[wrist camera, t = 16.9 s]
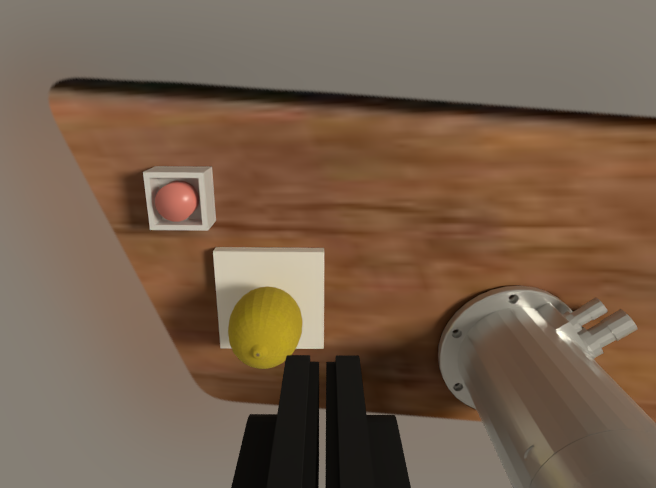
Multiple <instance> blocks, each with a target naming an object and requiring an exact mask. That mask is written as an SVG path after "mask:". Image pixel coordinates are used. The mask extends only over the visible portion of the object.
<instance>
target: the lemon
mask: <svg viewBox="0 0 656 488" xmlns="http://www.w3.org/2000/svg"><path fill="white" fill-rule="evenodd" d="M302 322H303V321H302V316H301V311H300V308H299V306H298V305H297V303H296V301H295V300H294V299H293V298H292V297H291V295H290V294H288V293H287V292H285V291H284V290H281V289H279V288H276V287H268V286H267V287H259V288H256V289H254V290H251V291H250V292H248V293H247V294H245V295H244V296H243V297H242V298H241V299H240V300H239V301H238V302H237V303H236V305H235V307H234V309H233V311H232V313H231V315H230V319H229V326H228V336H229V343H230V346H231V348H232V350H233V352H234V354H235V355H236V356H237V357H238V359H239V360H241V361H242V362H243V363H245V364H246V365H249V366H251V367H254V368H259V369H267V368H271V367H275V366H277V365H279V364H281V363H283V362H284V361H285V360H286V356H287V355H291V354H292V353H293V351H294V350H295V349H296V347H297V345H298V343H299V340H300V337H301V334H302Z"/></svg>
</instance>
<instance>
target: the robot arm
mask: <svg viewBox="0 0 656 488" xmlns="http://www.w3.org/2000/svg"><path fill="white" fill-rule="evenodd" d="M510 295H511V296H510ZM509 296H510V297H509ZM606 312H607V309H606V308H605V306H604V305H603V304H602V302H601V301H600V300H599V299H597V298H594V299H592V300H591V301H589V302H587V303H586V304H584V305H582V307H580V308H579V309H577V310H575V311H574V312H573V311H572V310H571V309H570V308H569V307H568V306H567V305H566V304H565V303H564V302H563V301H561V300H560V299H559V298H558V297H556V296H554V295H553V294H551V293H549V292H547V291H544V290H541V289H538V288H535V287H528V286H506V287H501V288H497V289H493V290H490V291H488V292H485V293H483V294H480V295H478V296H477V297H475V298H473V299H472V300H470V301H469V302H467V303H466V304H465V305H463V306H462V307H461V308H460V309H459V310H458V311H457V312H456V313H455V314H454V315H453V317H452V318H451V319H450V320H449V322H448V323H447V325H446V327H445V329H444V331H443V333H442V335H441V339H440V342H439V346H438V362H439V368H440V371H441V374H442V377H443V379H444V381H445V383H446V385H447V387H448V388H449V390H450V391H451V392H452V393H453V394H454V395H455V397H456V398H458V399H459V400H460V401H462V402H463V403H464V404H466V405H468V406H470V407H472V408H474V409H476V410H477V411H478V413H479V416H480V418H481V420H482V422H483V424H484V426H485V428H486V430H487V433H488V435H489V437H490V439H491V441H492V443H493V446H494V448H495V450H496V452H497V454H498V457H499V459H500V461H501V463H502V465H503V467H504V469H505V472H506V474H507V476H508V478H509V480H510V483H511V485H512V487H513V488H656V423H655V422H654V421H653V420H652V419H651V418H650V417H649V416H648V415H647V414H646V413H645V412H644V411H643V410H642V409H641V408H640V407H639V406H638V405H637V404H636V403H635V402H634V401H633V400H632V398H631V397H630V396H629V395H628V394H627V393H626V392H625V391H624V390H623V389H622V388H621V387H620V386H619V385H618V384H617V383H616V382H615V381H614V380H613V379H612V378H611V377H610V376H609V375H608V374H607V373H606V372H605V371H604V370H603V369H602V368H601V367H600V366H599V365H598V364H597V363H596V361H595V360H594V358H595V357H597V356H599V355H601V354H602V353H603V350H602V349H601V348H602V347H604V346H606V345H608V344H609V343H611V342H613V341H615V340H616V341H618V340H620V339H621V338H623V337H625V336H627V335H629V334H630V333H632V332H634V331H636V330H637V326H636V324H635V323H634V322H633V320H632V319H631V318H630V317H629V316H628V314H626V313H625V312H624V311H623V310H621V309H620V310H618V311H617V312H615V313H613V314H612V315H610V316H608V317H606V318H605V319H603V320H601V322H600V323H598V324H596V325H595V326H593V327H591V328H589V329H588V330H586V329H585V328H584V327H581V326H582V325H584V324H586V323H587V322H589V321H591V320H594V319H596V318H598V317H600V316H601V315H603V314H605V313H606ZM318 479H319V362H310V355H287V356H286V361H285V368H284V374H283V381H282V388H281V394H280V401H279V408H278V414H276V415H275V414H273V415H272V414H268V415H267V414H266V415H265V414H261V415H260V414H250V415H249V417H248V420H247V424H246V428H245V432H244V436H243V441H242V445H241V450H240V453H239V458H238V462H237V466H236V470H235V475H234V478H233V483H232V487H231V488H318ZM326 488H411V486H410V482H409V477H408V472H407V467H406V462H405V458H404V453H403V448H402V443H401V439H400V434H399V429H398V425H397V420H396V417H395V415H366V408H365V400H364V392H363V383H362V375H361V367H360V358H359V356H336V362H327V367H326Z"/></svg>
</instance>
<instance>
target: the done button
mask: <svg viewBox="0 0 656 488" xmlns="http://www.w3.org/2000/svg"><path fill="white" fill-rule="evenodd" d="M198 204H199V195H198V193H197V191H196V189H195V188H194V187H193V186H192V185H191V184H190V183H188V182H186V181H182V180H176V181H172V182H170V183H169V184H167V185H165V186H164V187H162V188H161V189H160V190H159V191H158V192H157V194H156V197H155V206H156V209H157V211H158V212H159V214H160V215H161V216H162V217H164V218H165V219H167V220H169V221H173V222H179V221H183V220H185V219H187V218H188V217H189V216H190V215H191V214H192V213H193V212H194V211H195V210H196V209H197V207H198Z"/></svg>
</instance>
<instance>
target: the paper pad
mask: <svg viewBox="0 0 656 488" xmlns="http://www.w3.org/2000/svg"><path fill="white" fill-rule="evenodd" d="M213 259H214V271H215V284H216V297H217V309H218V322H219V335H220V348H231V346H230V343H229V336H228V326H229V319H230V315H231V313H232V311H233V309H234V307H235V305H236V303H237V302H238V301H239V300H240V299H241V298H242V297H243V296H244V295H245V294H247V293H248V292H250V291H251V290H254V289H256V288H259V287H267V286H268V287H276V288H279V289H281V290H284V291H285V292H287V293H288V294H290V295H291V297H292V298H293V299H294V300H295V301H296V303H297V305H298V306H299V308H300V311H301V316H302V321H303V322H302V334H301V337H300V340H299V343H298V345H297V347H296V349H324V248H253V247H216V248H215V249H214V251H213Z"/></svg>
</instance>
